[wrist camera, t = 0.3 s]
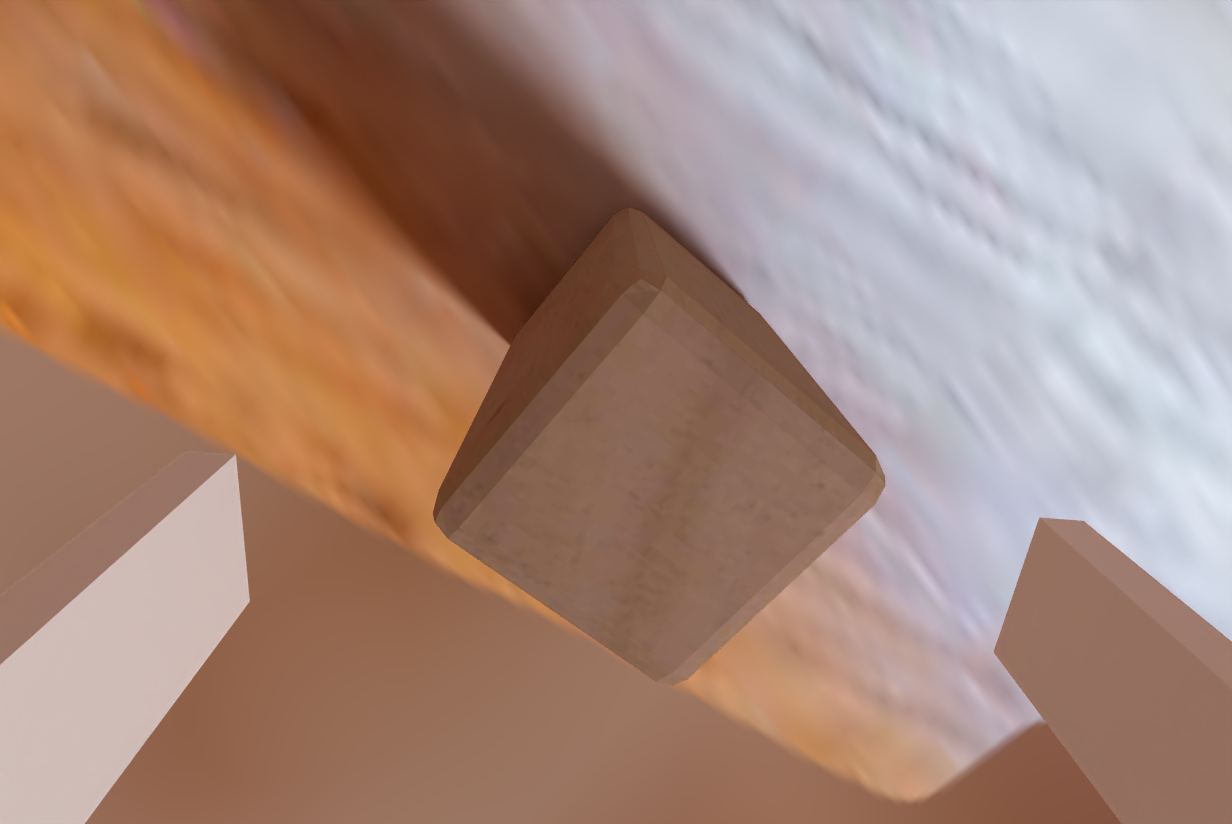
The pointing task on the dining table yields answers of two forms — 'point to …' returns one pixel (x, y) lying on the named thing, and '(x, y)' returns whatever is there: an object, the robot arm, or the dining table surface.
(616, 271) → the wooden block
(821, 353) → the dining table surface
